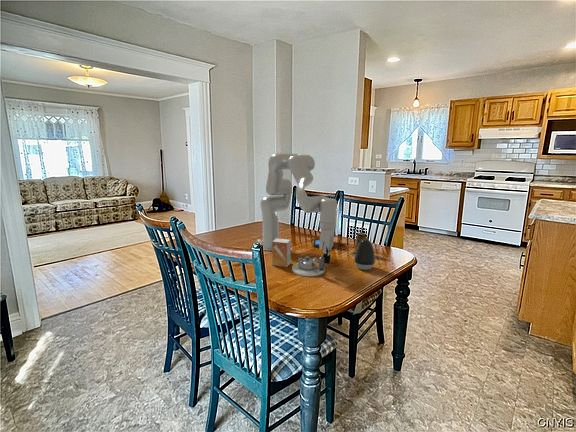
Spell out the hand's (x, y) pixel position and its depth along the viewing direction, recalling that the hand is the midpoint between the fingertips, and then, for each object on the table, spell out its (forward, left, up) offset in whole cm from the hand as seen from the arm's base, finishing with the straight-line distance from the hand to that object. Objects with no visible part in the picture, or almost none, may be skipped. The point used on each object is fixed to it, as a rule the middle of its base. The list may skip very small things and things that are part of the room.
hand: (326, 262), depth 150 cm
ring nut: (-7, 0, -4) cm, 8 cm away
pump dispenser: (+15, +16, -6) cm, 23 cm away
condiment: (+9, +38, -6) cm, 40 cm away
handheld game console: (-15, +48, -6) cm, 51 cm away
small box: (-25, +4, -6) cm, 26 cm away
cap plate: (-10, +2, -6) cm, 12 cm away
